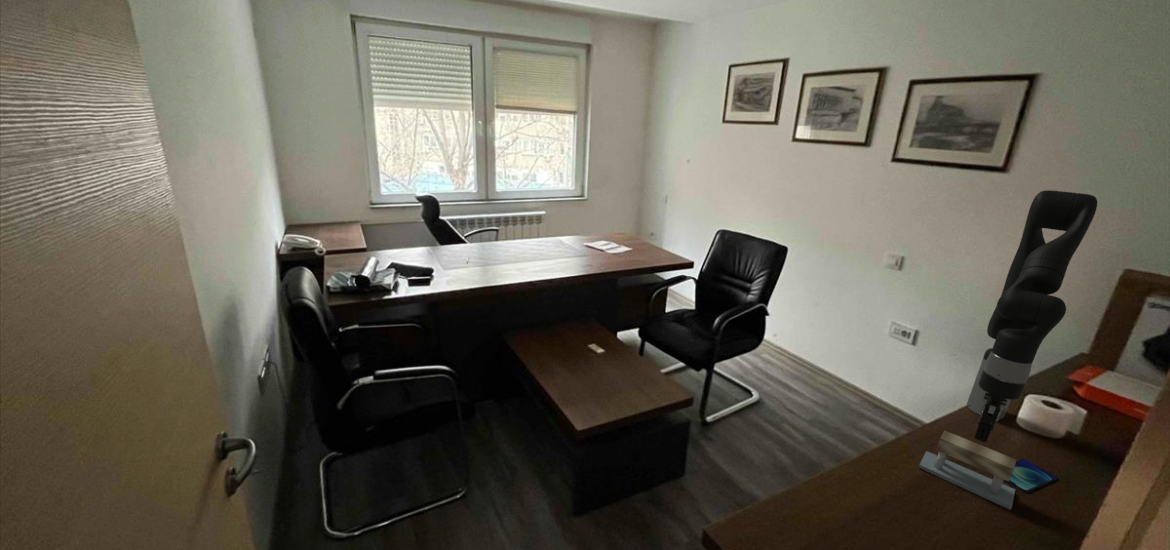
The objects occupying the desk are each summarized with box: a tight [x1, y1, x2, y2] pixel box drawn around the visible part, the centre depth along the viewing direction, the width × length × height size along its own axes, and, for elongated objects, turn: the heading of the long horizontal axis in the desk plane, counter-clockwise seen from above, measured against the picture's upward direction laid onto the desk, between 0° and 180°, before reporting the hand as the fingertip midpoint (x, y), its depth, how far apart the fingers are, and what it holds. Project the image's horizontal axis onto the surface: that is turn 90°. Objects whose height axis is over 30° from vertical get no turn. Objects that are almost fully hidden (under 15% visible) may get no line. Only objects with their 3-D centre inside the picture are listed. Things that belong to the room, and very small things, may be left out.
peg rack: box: [918, 450, 1016, 511], centre depth 113 cm, size 18×8×6 cm, turn 44°
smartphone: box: [1003, 458, 1059, 494], centre depth 116 cm, size 8×1×15 cm
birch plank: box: [935, 429, 1017, 481], centre depth 111 cm, size 14×5×4 cm, turn 42°
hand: (982, 432), depth 109 cm, fingers open, 8 cm apart
